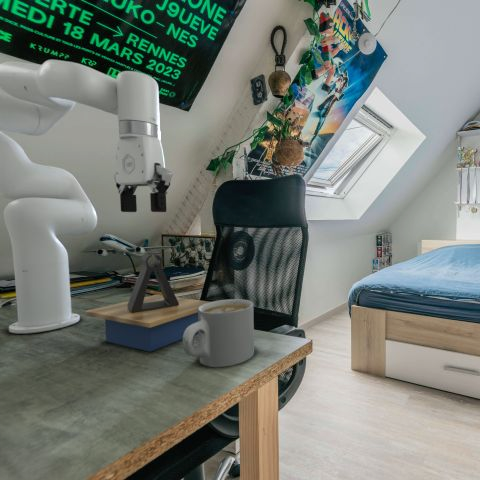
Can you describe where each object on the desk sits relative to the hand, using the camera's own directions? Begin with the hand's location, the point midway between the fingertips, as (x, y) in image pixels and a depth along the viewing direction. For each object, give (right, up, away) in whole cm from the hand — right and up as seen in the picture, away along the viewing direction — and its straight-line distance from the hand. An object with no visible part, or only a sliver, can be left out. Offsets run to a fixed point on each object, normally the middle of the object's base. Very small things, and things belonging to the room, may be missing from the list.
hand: (143, 211), depth 71 cm
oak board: (+2, -22, +1) cm, 22 cm away
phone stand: (+2, -22, +1) cm, 22 cm away
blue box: (+2, -28, +1) cm, 28 cm away
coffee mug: (+21, -29, -10) cm, 37 cm away
